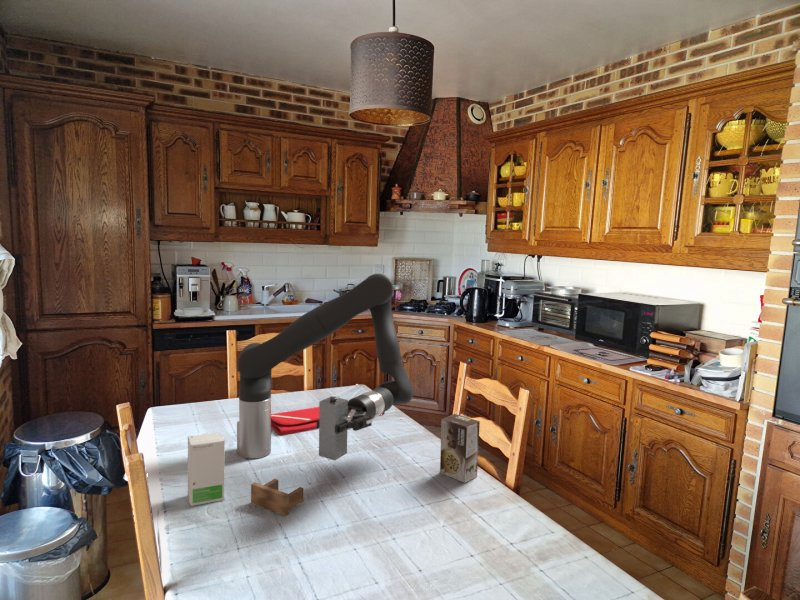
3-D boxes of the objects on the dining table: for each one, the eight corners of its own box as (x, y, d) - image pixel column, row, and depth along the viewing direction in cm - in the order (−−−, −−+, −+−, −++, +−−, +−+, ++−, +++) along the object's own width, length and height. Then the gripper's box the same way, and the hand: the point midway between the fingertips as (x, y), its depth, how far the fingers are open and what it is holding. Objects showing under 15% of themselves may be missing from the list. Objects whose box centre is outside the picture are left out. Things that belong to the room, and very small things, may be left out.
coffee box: (478, 476, 145) (481, 421, 143) (464, 483, 141) (467, 427, 139) (452, 465, 152) (454, 412, 150) (438, 472, 147) (440, 418, 145)
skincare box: (189, 507, 125) (188, 445, 123) (187, 494, 131) (185, 435, 129) (226, 499, 129) (225, 440, 127) (221, 488, 134) (221, 430, 132)
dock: (251, 503, 127) (250, 484, 127) (272, 490, 134) (272, 472, 133) (285, 516, 122) (285, 496, 121) (305, 502, 129) (306, 483, 128)
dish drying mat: (385, 416, 193) (385, 406, 192) (281, 438, 169) (281, 427, 169) (363, 404, 206) (363, 395, 205) (264, 423, 182) (264, 412, 182)
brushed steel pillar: (318, 455, 129) (319, 398, 127) (331, 448, 133) (331, 393, 131) (335, 460, 126) (335, 402, 124) (346, 453, 131) (347, 396, 129)
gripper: (344, 389, 144) (304, 406, 129) (388, 399, 137) (351, 418, 122) (343, 415, 145) (303, 435, 130) (387, 426, 138) (350, 448, 123)
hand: (327, 427), depth 126 cm, fingers closed on brushed steel pillar, 5 cm apart
